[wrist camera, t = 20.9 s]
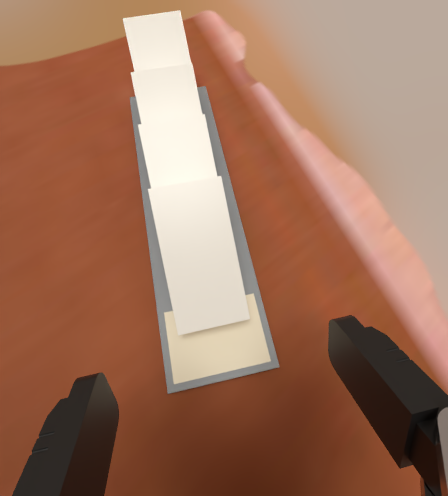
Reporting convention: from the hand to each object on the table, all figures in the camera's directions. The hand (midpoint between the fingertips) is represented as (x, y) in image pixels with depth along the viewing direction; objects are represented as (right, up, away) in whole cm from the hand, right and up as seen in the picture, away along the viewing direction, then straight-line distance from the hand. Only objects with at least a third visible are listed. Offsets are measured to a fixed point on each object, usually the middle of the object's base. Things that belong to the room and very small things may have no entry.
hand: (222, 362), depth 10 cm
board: (-3, +7, +15) cm, 17 cm away
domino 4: (-1, -1, +10) cm, 10 cm away
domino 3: (-2, +4, +12) cm, 13 cm away
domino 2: (-3, +9, +14) cm, 17 cm away
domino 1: (-4, +15, +16) cm, 22 cm away
